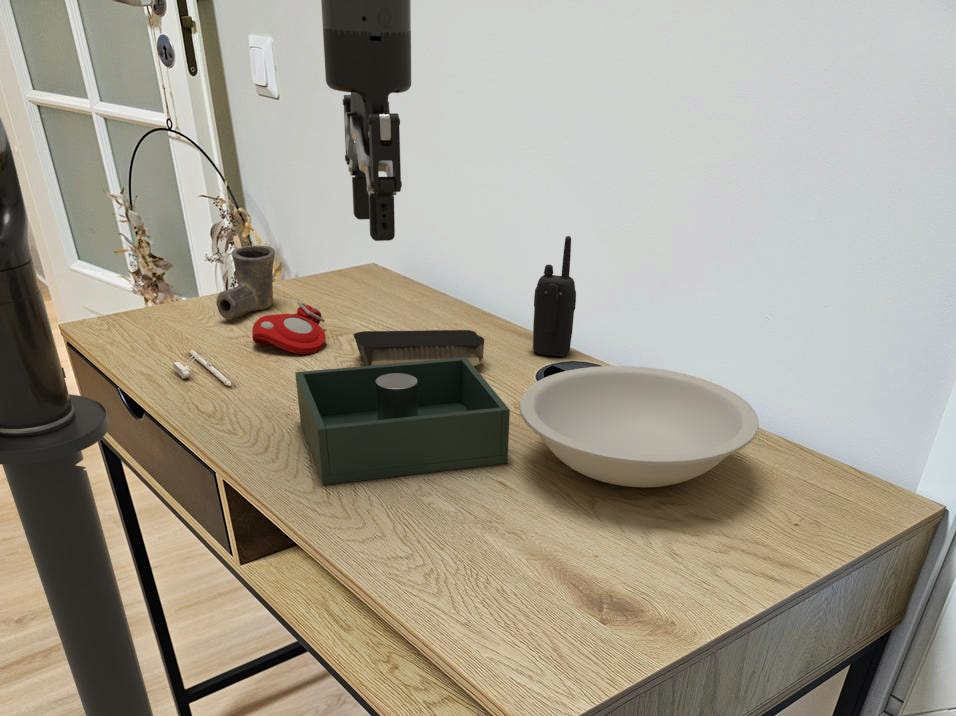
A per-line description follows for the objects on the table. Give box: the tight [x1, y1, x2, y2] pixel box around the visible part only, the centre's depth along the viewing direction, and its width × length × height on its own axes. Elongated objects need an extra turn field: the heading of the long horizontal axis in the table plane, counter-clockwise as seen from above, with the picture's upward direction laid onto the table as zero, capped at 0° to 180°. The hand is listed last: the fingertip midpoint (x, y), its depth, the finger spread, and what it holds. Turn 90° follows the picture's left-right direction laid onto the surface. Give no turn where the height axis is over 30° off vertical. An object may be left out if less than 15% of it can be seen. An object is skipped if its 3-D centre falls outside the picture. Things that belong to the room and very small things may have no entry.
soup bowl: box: [518, 365, 760, 488], centre depth 91 cm, size 24×24×7 cm
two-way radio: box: [532, 235, 577, 358], centre depth 116 cm, size 6×4×15 cm
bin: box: [295, 357, 511, 486], centre depth 95 cm, size 20×16×6 cm
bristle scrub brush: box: [353, 329, 485, 367], centre depth 115 cm, size 16×8×4 cm, turn 98°
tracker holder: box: [251, 300, 327, 355], centre depth 121 cm, size 12×4×10 cm
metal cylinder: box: [376, 373, 418, 420], centre depth 95 cm, size 4×4×6 cm
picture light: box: [172, 349, 232, 387], centre depth 111 cm, size 14×4×2 cm, turn 34°
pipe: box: [215, 244, 276, 320], centre depth 130 cm, size 6×13×8 cm, turn 162°
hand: (373, 228), depth 85 cm, fingers open, 8 cm apart
